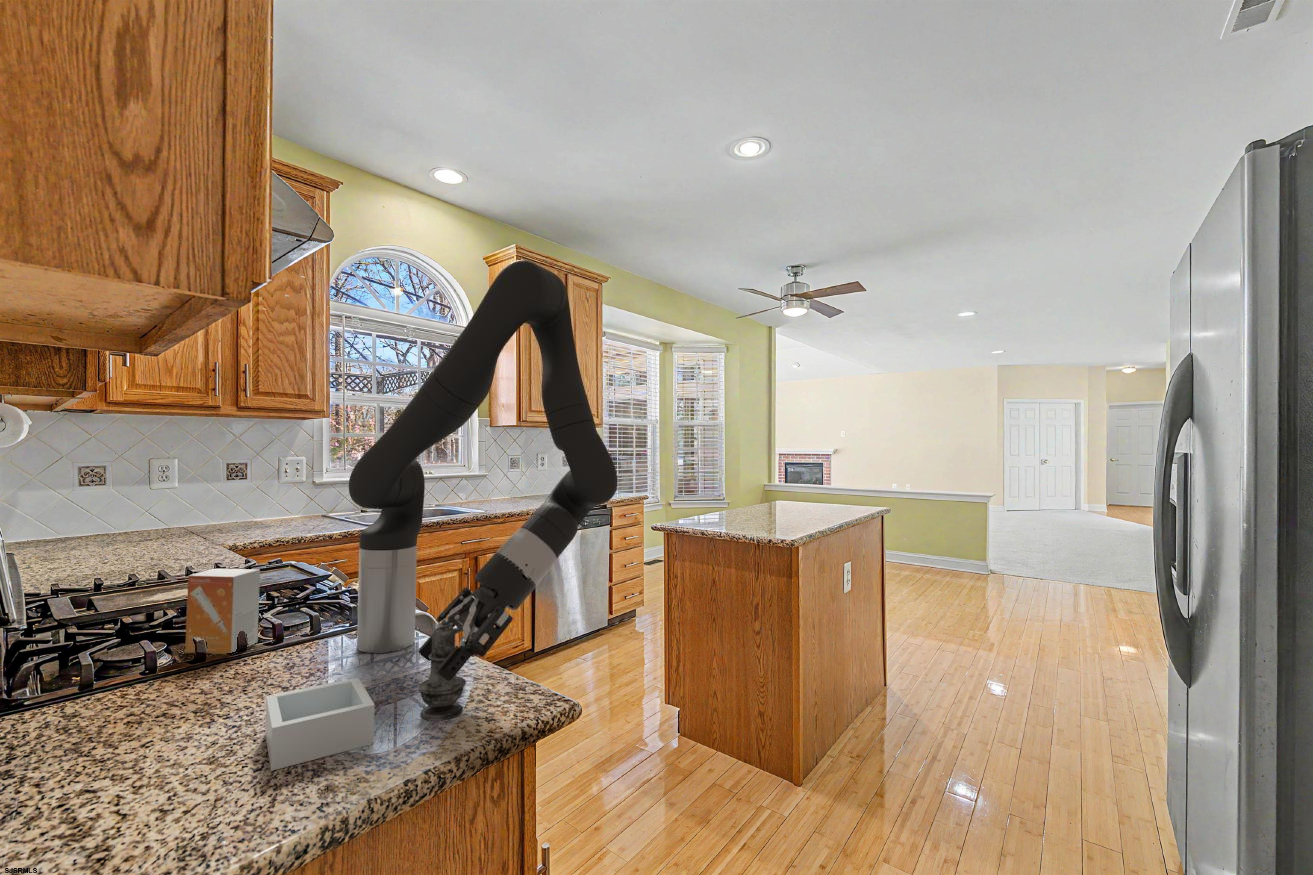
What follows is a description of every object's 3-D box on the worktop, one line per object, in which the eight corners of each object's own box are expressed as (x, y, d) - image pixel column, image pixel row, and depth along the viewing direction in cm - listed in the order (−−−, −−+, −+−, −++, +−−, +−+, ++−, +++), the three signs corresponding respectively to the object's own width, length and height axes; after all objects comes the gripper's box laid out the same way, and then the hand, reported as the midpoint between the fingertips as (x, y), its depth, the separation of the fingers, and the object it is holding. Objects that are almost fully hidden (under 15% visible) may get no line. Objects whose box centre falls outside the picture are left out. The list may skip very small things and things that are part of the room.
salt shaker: (450, 724, 73) (452, 627, 73) (408, 719, 74) (410, 624, 75) (473, 704, 79) (475, 615, 79) (434, 700, 80) (436, 612, 80)
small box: (183, 654, 97) (186, 575, 97) (214, 641, 103) (216, 567, 103) (231, 655, 96) (233, 576, 97) (259, 642, 103) (261, 568, 103)
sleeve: (265, 733, 70) (266, 695, 70) (357, 712, 76) (358, 677, 76) (270, 770, 62) (272, 728, 62) (373, 743, 68) (374, 704, 68)
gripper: (481, 544, 87) (397, 635, 80) (520, 558, 76) (427, 666, 69) (514, 575, 90) (436, 666, 83) (556, 594, 79) (471, 701, 72)
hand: (432, 666), depth 76 cm, fingers open, 8 cm apart
